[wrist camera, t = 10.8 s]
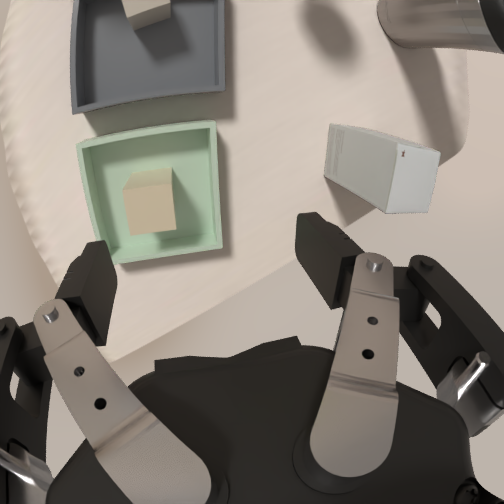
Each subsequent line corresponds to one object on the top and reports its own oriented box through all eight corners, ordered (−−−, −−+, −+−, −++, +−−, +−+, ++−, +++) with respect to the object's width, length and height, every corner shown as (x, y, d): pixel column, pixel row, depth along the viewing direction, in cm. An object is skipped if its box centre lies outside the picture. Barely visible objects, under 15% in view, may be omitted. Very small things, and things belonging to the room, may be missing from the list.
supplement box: (322, 176, 35) (383, 215, 24) (328, 121, 31) (398, 139, 20) (365, 179, 36) (428, 215, 26) (373, 129, 33) (443, 151, 22)
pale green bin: (211, 119, 27) (215, 121, 25) (217, 234, 35) (222, 248, 32) (85, 139, 24) (75, 144, 21) (109, 251, 32) (104, 266, 29)
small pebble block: (161, -9, 17) (160, -27, 13) (170, 17, 20) (170, 2, 15) (125, 3, 17) (118, -13, 13) (133, 30, 19) (126, 17, 15)
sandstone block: (171, 167, 28) (171, 183, 23) (175, 205, 31) (176, 229, 25) (131, 172, 27) (122, 190, 22) (137, 210, 30) (130, 235, 24)
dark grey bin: (218, -17, 19) (224, -29, 16) (219, 92, 26) (225, 90, 23) (83, 3, 15) (74, -7, 12) (82, 113, 23) (72, 114, 20)
